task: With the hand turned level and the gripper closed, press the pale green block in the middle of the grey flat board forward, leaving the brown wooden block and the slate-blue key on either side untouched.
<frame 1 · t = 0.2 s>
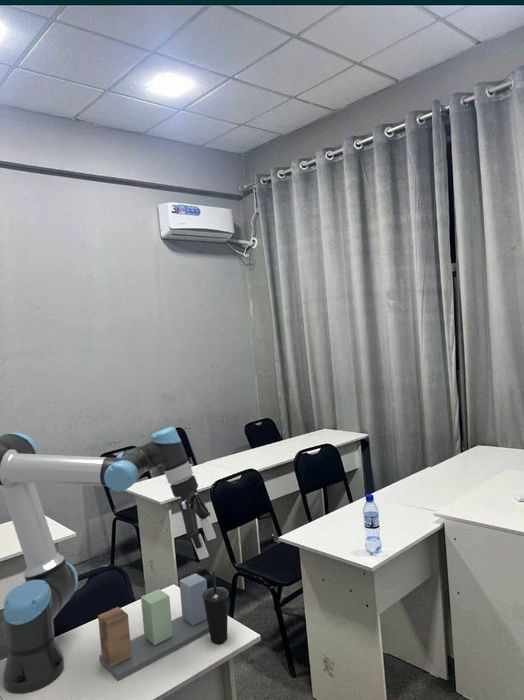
hand: (208, 548, 150), 27 cm above the table, tool tilted 15°, fingers open, 13 cm apart
pale green block: (156, 616, 151), point 8 cm above the table, slide at 0.0 cm
drinking cup: (219, 640, 150), on the table
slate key: (194, 598, 159), point 8 cm above the table, slide at 0.0 cm
grey flat board: (160, 643, 150), on the table
brown wooden block: (114, 636, 142), point 8 cm above the table, slide at 0.0 cm
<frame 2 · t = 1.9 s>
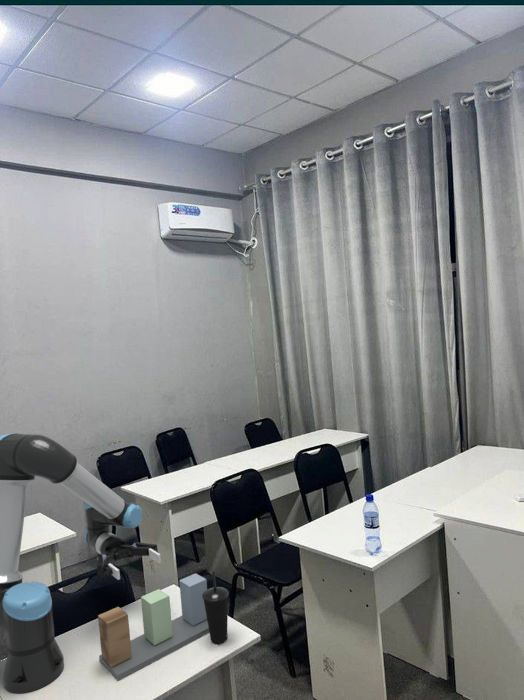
hand: (139, 566, 157), 20 cm above the table, tool horizontal, fingers open, 13 cm apart
nothing on the table moved.
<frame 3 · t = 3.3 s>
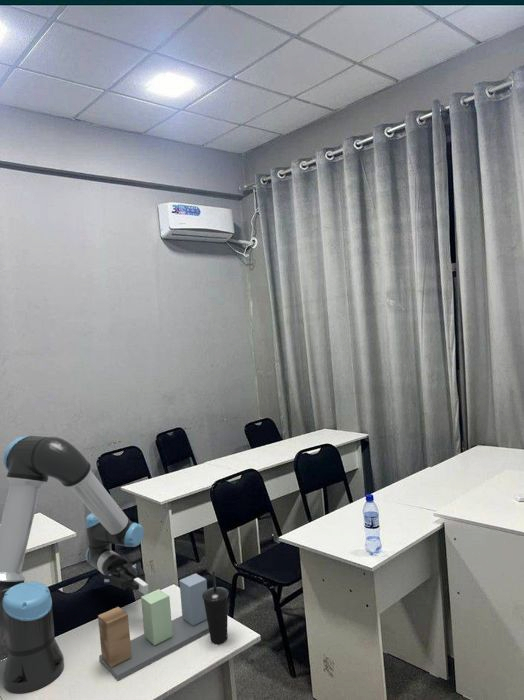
hand: (146, 589, 156), 13 cm above the table, tool horizontal, fingers closed
nothing on the table moved.
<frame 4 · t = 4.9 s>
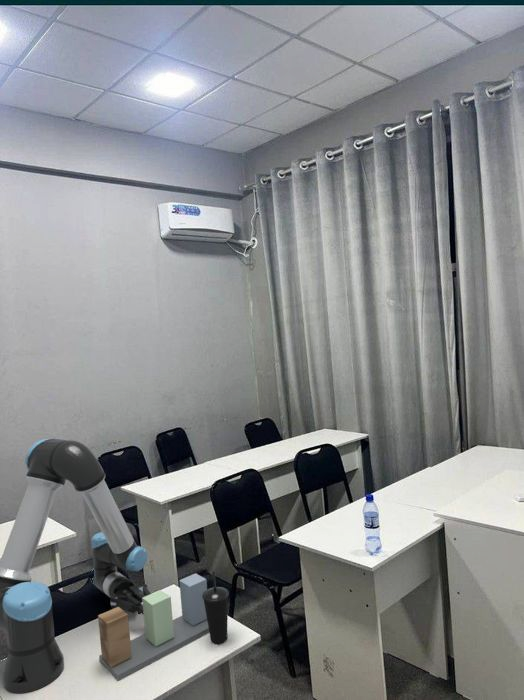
hand: (154, 613, 153), 7 cm above the table, tool horizontal, fingers closed
pale green block: (158, 617, 150), point 8 cm above the table, slide at 0.8 cm, touching gripper
everything else where it was.
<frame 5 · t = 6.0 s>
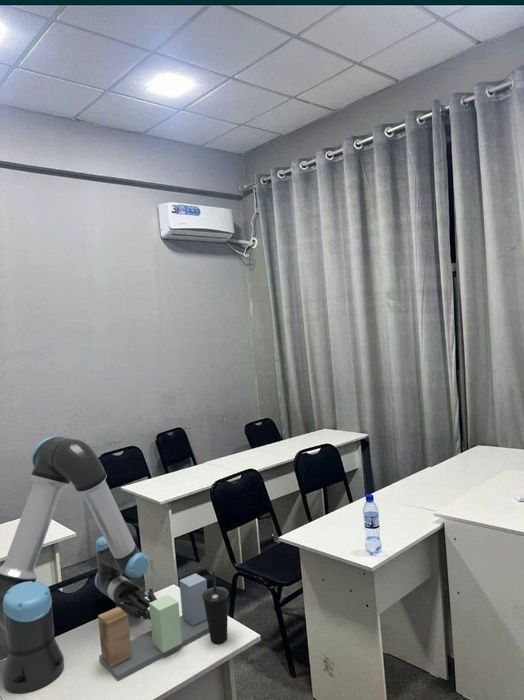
hand: (160, 619, 150), 7 cm above the table, tool horizontal, fingers closed
pale green block: (165, 623, 147), point 8 cm above the table, slide at 5.0 cm, touching gripper
everything else where it was.
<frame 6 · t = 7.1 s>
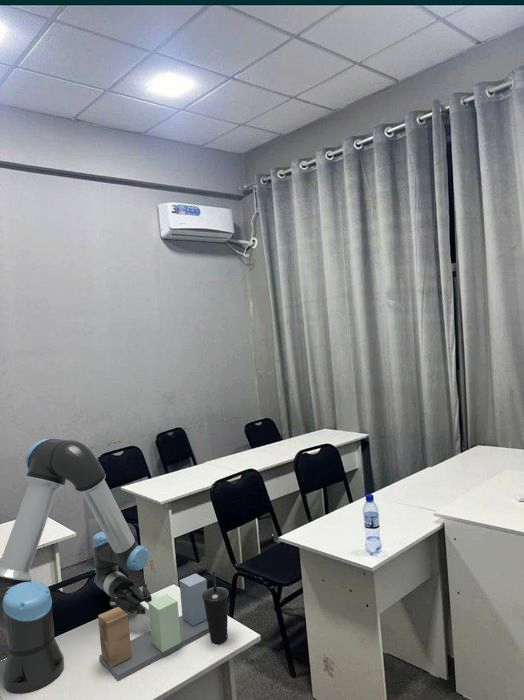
hand: (152, 614, 153), 8 cm above the table, tool horizontal, fingers closed
pale green block: (164, 622, 147), point 8 cm above the table, slide at 4.5 cm
everything else where it was.
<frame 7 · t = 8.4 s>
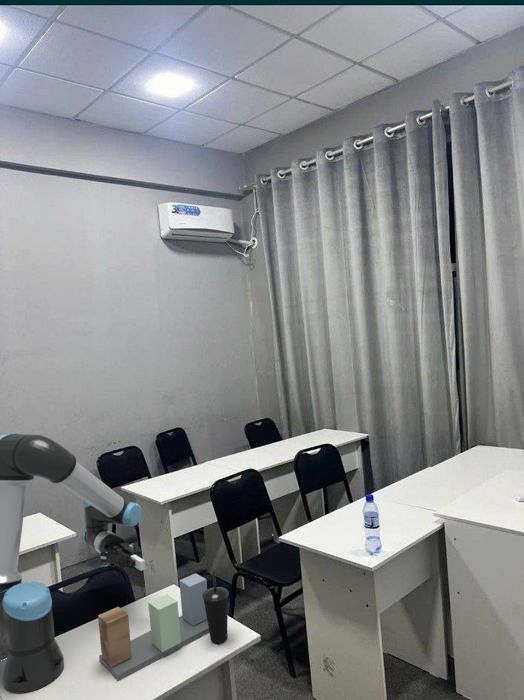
hand: (142, 565, 155), 21 cm above the table, tool horizontal, fingers closed
nothing on the table moved.
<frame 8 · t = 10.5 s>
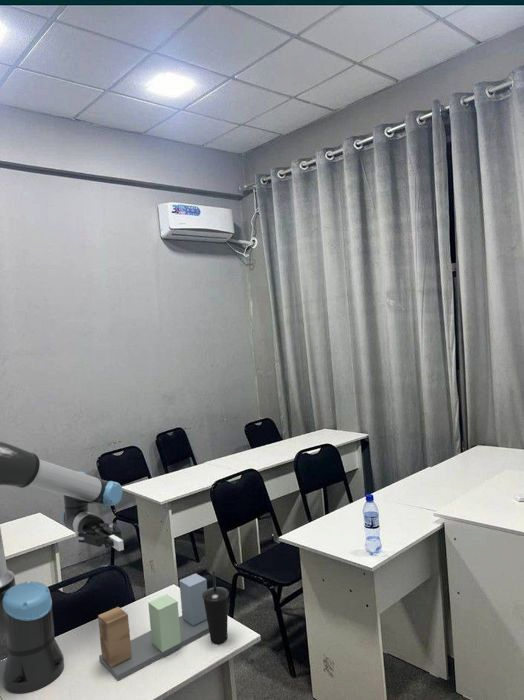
hand: (121, 545, 149), 30 cm above the table, tool horizontal, fingers closed
nothing on the table moved.
at the end: pale green block slide at 4.5 cm; brown wooden block slide at 0.0 cm; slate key slide at 0.0 cm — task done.
